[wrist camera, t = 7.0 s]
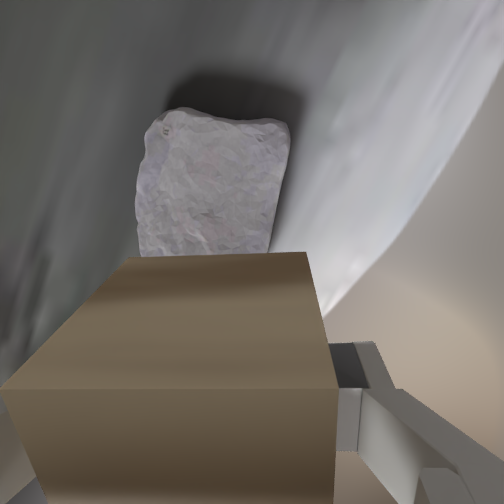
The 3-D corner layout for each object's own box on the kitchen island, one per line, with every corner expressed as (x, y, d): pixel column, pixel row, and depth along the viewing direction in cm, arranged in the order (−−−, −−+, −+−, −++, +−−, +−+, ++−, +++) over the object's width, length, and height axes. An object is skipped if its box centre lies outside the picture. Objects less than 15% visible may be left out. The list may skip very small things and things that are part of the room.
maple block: (128, 257, 10) (-2, 389, 5) (306, 252, 9) (338, 388, 5) (157, 392, 12) (80, 578, 7) (305, 392, 11) (328, 588, 7)
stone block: (157, 249, 29) (269, 279, 27) (123, 269, 25) (255, 306, 23) (168, 99, 25) (302, 123, 23) (130, 91, 21) (292, 120, 19)
